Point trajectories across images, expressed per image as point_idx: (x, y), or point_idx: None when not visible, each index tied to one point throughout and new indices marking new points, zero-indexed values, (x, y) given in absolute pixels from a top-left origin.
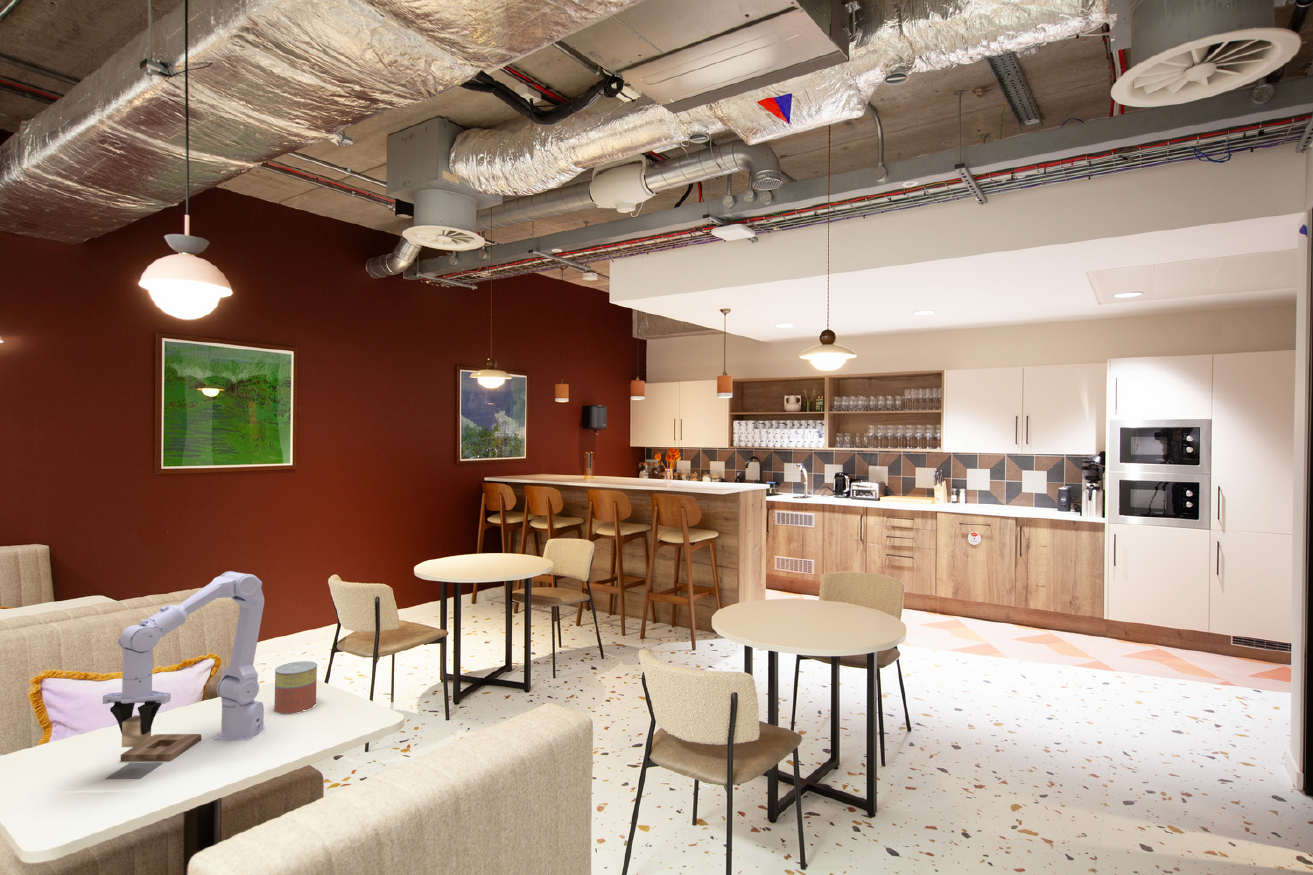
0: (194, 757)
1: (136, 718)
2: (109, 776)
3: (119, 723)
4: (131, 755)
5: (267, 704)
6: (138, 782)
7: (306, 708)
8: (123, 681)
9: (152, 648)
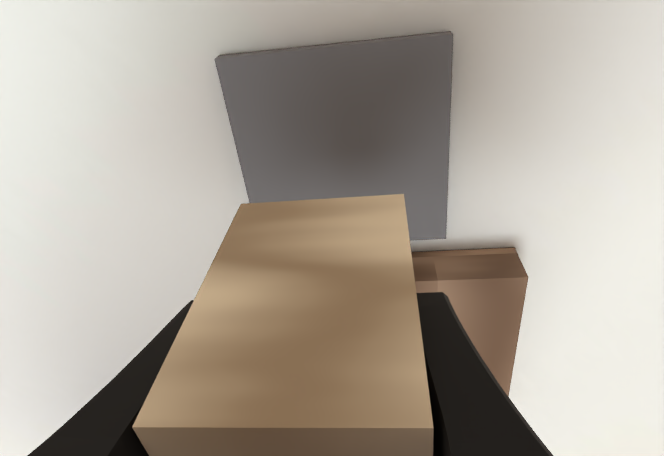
0: (179, 304)
1: None
2: (442, 66)
3: (488, 402)
4: (460, 276)
5: None
6: (202, 26)
7: None
8: None
9: None
